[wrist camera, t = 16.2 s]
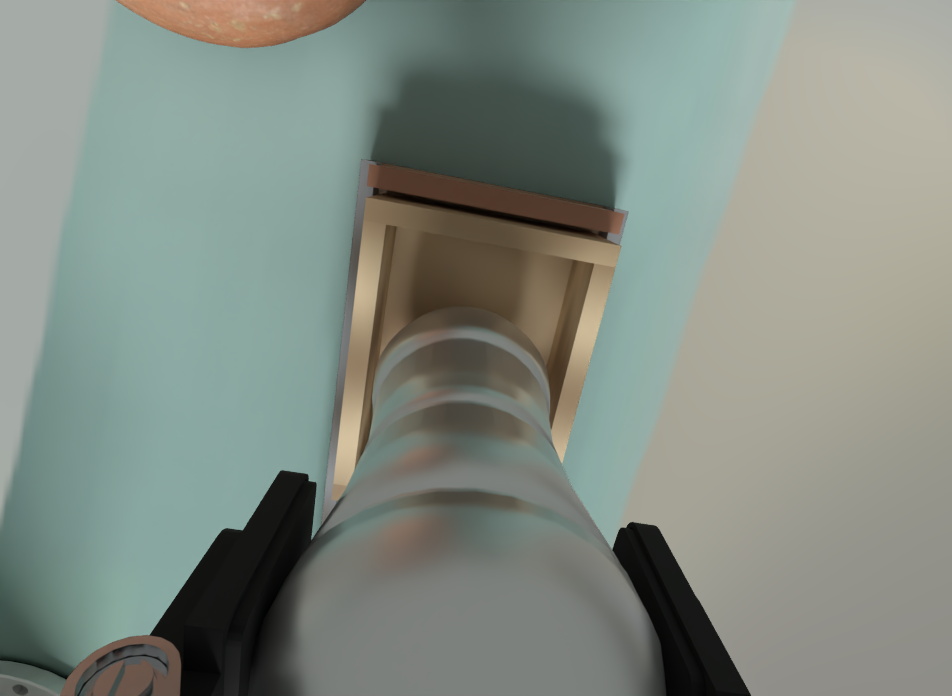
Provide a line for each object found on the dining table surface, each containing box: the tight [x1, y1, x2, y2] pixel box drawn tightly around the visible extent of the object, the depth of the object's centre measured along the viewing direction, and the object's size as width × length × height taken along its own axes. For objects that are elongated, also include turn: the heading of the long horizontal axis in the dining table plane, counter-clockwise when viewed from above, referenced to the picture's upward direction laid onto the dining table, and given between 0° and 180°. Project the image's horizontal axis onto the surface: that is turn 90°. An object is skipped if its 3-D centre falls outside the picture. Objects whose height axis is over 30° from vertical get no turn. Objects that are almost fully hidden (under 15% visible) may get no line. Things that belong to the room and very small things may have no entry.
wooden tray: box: [321, 159, 628, 525], centre depth 25 cm, size 24×11×4 cm, turn 169°
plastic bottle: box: [248, 306, 667, 696], centre depth 13 cm, size 6×7×20 cm
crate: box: [331, 193, 621, 501], centre depth 23 cm, size 13×9×4 cm
